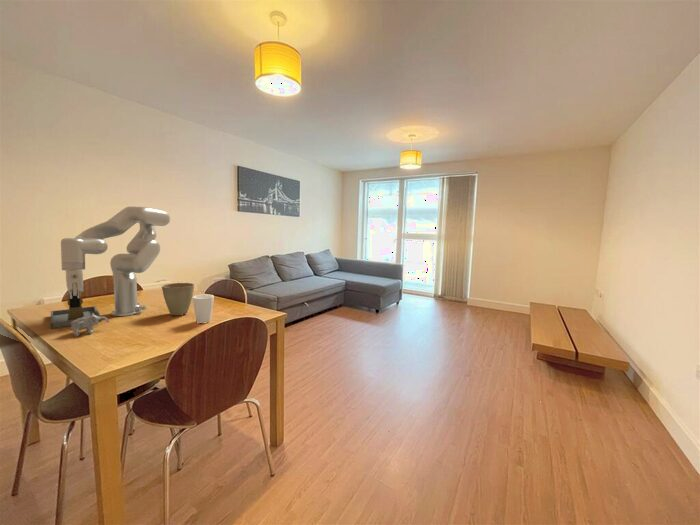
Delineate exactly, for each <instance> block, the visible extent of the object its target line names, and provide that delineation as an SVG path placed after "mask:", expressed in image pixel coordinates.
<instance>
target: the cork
mask: <svg viewBox="0 0 700 525" xmlns="http://www.w3.org/2000/svg"><path fill="white" fill-rule="evenodd" d="M79 298H80V307H76V308H70V298H69V299H68V300H67V305H68V306H69V307H68V309H69V313H68V320H76V319H77V318H81V317H84V314H83V310H82V308H83V306H82V305H83V302H84V301H83V298H81V297H79Z"/></svg>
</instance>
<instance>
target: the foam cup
mask: <svg viewBox="0 0 700 525" xmlns="http://www.w3.org/2000/svg"><path fill="white" fill-rule="evenodd" d="M214 300H215V296H214V294H209V293H205V294H204V293H203V294H196V295H193V296H192V304H193V310H194V311H193V312H194V317H195V321H197V322H198V323H197V322H196V323H197V324H199V323H204V322H209V321H210V320H212V313H213V306H214ZM210 322H211V321H210ZM210 322H209V323H210ZM204 324H205V323H204Z"/></svg>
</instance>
